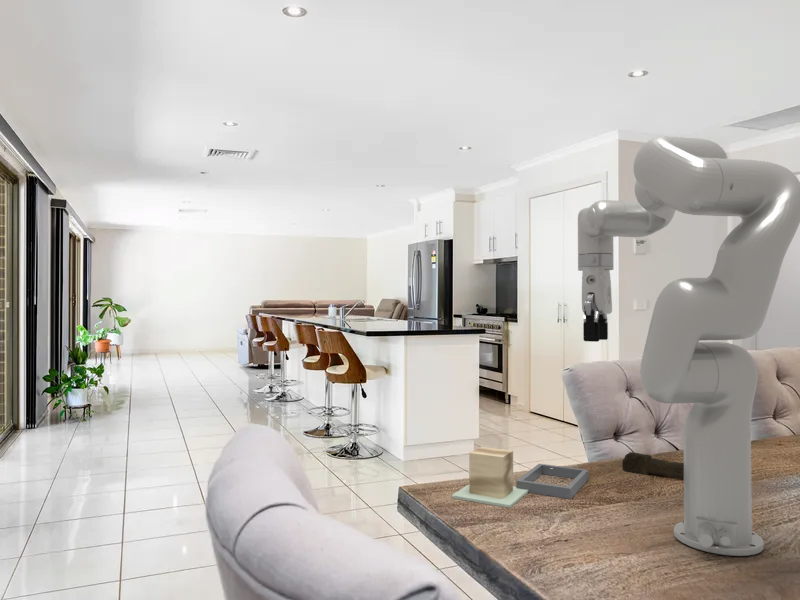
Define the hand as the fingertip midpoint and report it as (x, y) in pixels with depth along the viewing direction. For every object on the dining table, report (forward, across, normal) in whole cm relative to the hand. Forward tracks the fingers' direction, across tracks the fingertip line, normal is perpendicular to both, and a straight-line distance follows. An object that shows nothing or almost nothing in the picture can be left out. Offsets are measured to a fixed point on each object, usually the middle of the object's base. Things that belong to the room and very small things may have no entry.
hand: (595, 340), depth 131 cm
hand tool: (+31, +8, -13) cm, 35 cm away
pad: (+30, -23, +16) cm, 41 cm away
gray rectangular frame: (+30, -10, +7) cm, 33 cm away
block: (+30, -23, +16) cm, 41 cm away
